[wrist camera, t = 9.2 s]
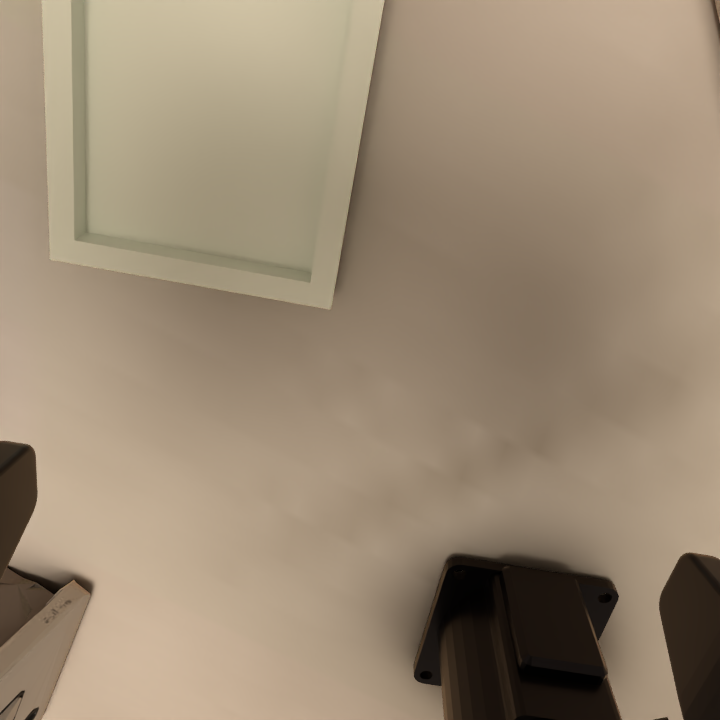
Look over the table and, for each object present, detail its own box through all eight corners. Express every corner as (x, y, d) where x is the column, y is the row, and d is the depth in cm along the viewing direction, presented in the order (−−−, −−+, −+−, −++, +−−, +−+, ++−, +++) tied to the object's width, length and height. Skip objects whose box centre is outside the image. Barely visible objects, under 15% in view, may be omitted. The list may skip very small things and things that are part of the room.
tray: (333, 293, 21) (331, 309, 20) (68, 245, 20) (49, 259, 19) (392, -47, 17) (393, -51, 15) (62, -114, 16) (37, -124, 15)
